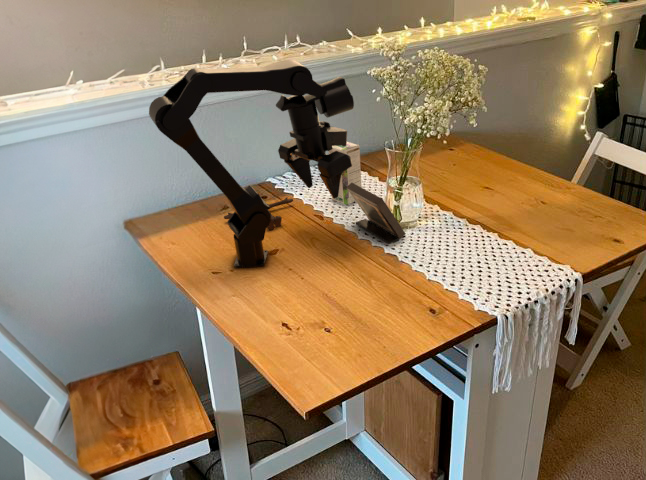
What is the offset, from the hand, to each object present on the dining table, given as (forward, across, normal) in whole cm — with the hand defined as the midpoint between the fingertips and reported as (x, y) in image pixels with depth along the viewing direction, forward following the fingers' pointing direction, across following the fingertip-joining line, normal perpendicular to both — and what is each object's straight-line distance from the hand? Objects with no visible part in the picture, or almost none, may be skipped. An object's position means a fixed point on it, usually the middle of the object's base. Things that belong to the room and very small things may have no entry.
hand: (322, 192), depth 147 cm
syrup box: (+14, +15, -16) cm, 26 cm away
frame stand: (+13, -5, -8) cm, 17 cm away
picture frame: (+13, -5, -12) cm, 18 cm away
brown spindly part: (+11, +21, +5) cm, 24 cm away
